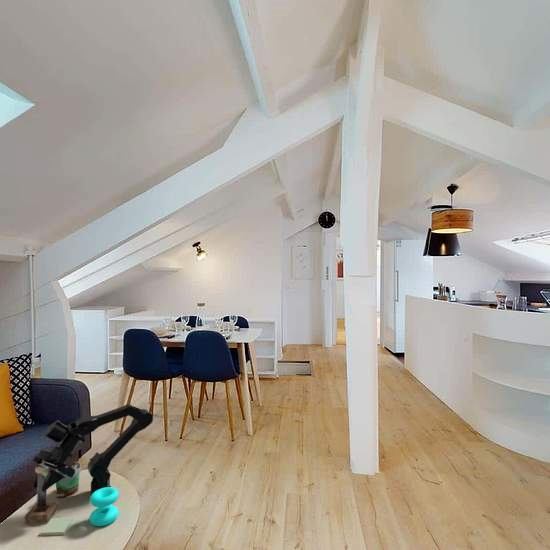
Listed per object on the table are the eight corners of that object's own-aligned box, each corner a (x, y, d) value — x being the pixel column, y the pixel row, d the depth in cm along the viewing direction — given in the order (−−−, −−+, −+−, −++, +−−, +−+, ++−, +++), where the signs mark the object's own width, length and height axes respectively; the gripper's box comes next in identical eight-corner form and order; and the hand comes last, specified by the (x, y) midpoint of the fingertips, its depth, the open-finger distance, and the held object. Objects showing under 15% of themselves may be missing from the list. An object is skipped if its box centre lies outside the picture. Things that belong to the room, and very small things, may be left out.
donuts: (114, 499, 141) (85, 501, 140) (113, 527, 141) (85, 528, 140) (122, 485, 151) (95, 486, 150) (121, 510, 151) (95, 511, 150)
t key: (32, 504, 146) (33, 469, 146) (40, 500, 149) (41, 465, 149) (42, 509, 144) (43, 472, 144) (50, 505, 146) (51, 469, 146)
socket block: (57, 509, 151) (57, 502, 151) (47, 522, 143) (47, 514, 143) (36, 510, 150) (36, 502, 150) (24, 523, 142) (24, 515, 142)
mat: (73, 520, 144) (73, 517, 144) (63, 534, 136) (63, 531, 136) (51, 521, 144) (51, 518, 144) (40, 535, 136) (40, 532, 136)
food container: (67, 501, 156) (67, 477, 156) (54, 499, 157) (54, 475, 157) (87, 485, 168) (88, 462, 168) (75, 483, 169) (75, 461, 169)
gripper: (37, 434, 154) (7, 475, 144) (68, 444, 146) (38, 488, 136) (56, 446, 161) (28, 486, 151) (86, 456, 153) (59, 498, 143)
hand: (38, 489), depth 145 cm, fingers closed on t key, 5 cm apart
